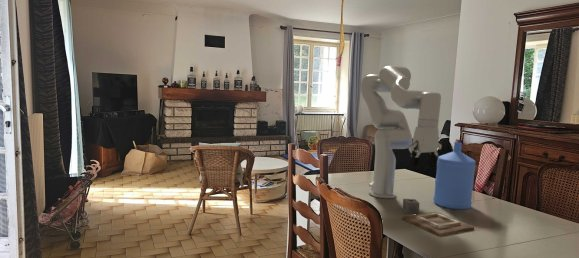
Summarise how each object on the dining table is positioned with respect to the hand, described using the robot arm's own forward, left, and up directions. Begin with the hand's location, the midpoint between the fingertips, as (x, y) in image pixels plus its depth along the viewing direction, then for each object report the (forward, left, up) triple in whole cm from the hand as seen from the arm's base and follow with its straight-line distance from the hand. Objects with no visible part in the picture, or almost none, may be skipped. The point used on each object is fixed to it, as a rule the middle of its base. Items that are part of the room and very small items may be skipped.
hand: (423, 166), depth 153 cm
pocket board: (+10, -1, -20) cm, 23 cm away
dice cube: (-4, -1, -20) cm, 21 cm away
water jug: (-6, +26, -20) cm, 33 cm away
